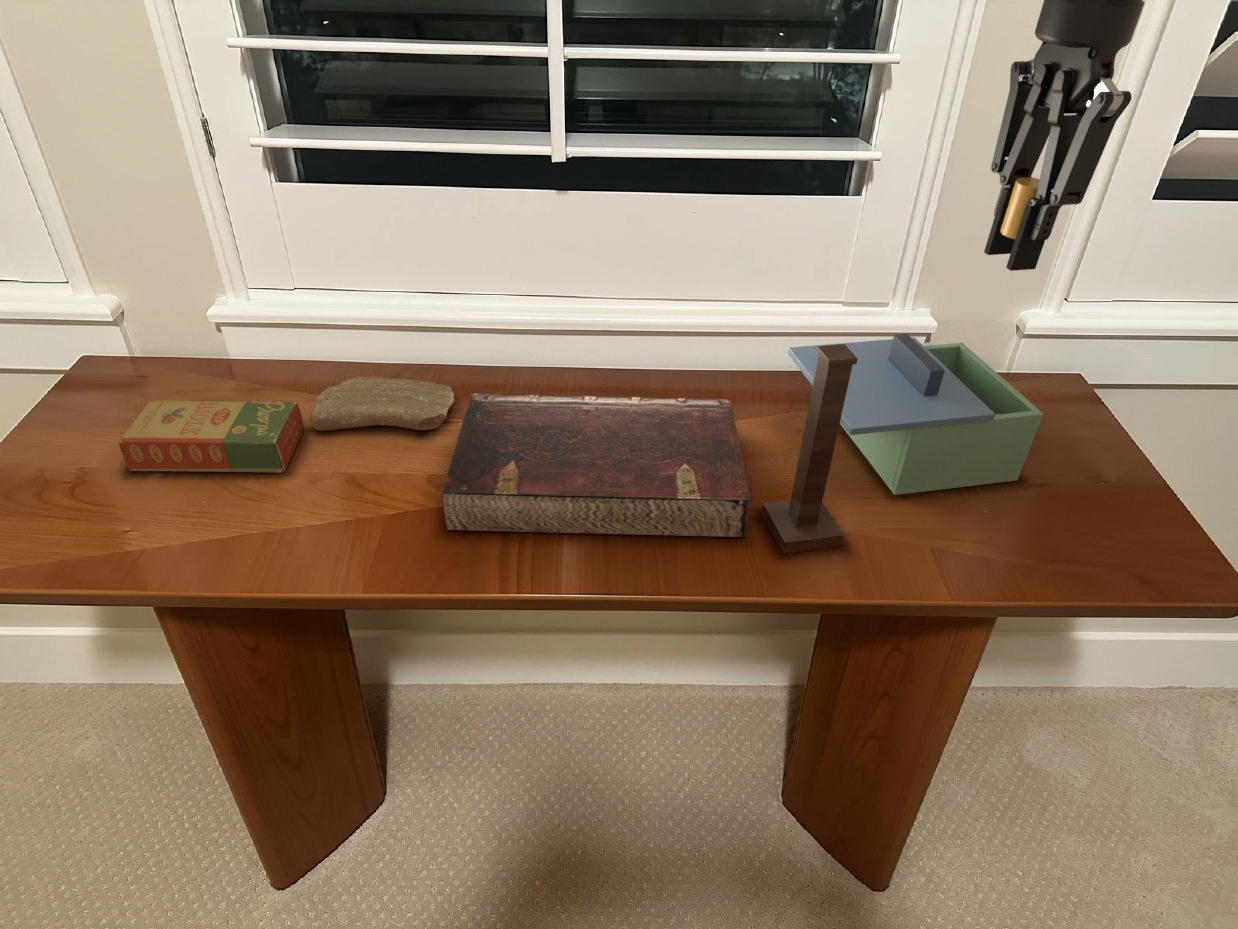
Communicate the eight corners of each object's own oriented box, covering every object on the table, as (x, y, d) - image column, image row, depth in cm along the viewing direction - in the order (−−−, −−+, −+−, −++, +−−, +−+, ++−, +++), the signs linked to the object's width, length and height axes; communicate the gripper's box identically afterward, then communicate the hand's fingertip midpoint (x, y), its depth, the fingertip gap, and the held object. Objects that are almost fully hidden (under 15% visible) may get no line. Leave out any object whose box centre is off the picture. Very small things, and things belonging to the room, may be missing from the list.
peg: (1042, 236, 80) (1059, 184, 77) (1021, 242, 79) (1038, 190, 76) (1014, 225, 82) (1030, 175, 79) (993, 231, 81) (1008, 180, 78)
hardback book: (725, 432, 96) (730, 395, 93) (744, 540, 81) (751, 500, 78) (475, 425, 95) (471, 388, 92) (447, 532, 80) (442, 492, 77)
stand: (840, 546, 80) (886, 366, 68) (782, 554, 79) (818, 372, 67) (816, 508, 85) (854, 332, 73) (761, 514, 84) (790, 338, 72)
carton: (161, 429, 93) (150, 397, 90) (306, 430, 94) (299, 398, 91) (129, 473, 86) (115, 440, 84) (285, 474, 87) (276, 440, 84)
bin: (1017, 480, 90) (1044, 414, 85) (894, 495, 87) (913, 427, 82) (943, 404, 102) (962, 342, 97) (833, 415, 99) (846, 352, 94)
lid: (993, 420, 83) (1005, 388, 81) (850, 435, 80) (857, 402, 78) (913, 343, 96) (921, 313, 94) (787, 353, 93) (792, 323, 91)
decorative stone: (449, 437, 93) (446, 411, 91) (310, 436, 93) (304, 409, 91) (461, 391, 101) (459, 366, 99) (333, 390, 101) (327, 365, 99)
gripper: (1211, 4, 62) (1096, 292, 76) (1073, -23, 75) (996, 228, 89) (1125, 4, 61) (1024, 298, 75) (1000, -23, 74) (933, 232, 88)
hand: (1009, 259), depth 82 cm, fingers closed on peg, 3 cm apart
